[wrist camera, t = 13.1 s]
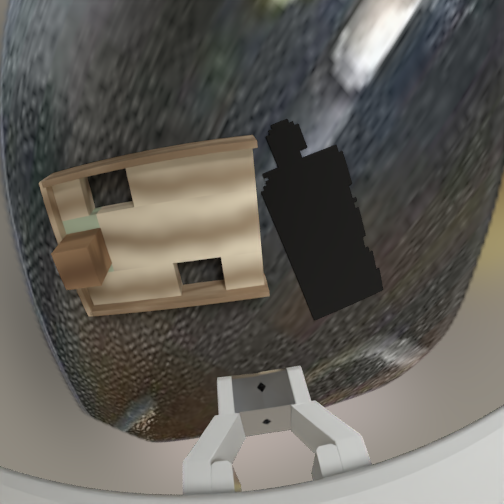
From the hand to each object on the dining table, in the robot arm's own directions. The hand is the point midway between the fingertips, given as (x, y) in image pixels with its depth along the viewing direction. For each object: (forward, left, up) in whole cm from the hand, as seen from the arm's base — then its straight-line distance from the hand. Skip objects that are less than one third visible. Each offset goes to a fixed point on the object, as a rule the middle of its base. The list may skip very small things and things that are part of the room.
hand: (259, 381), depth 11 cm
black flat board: (+9, +12, -30) cm, 33 cm away
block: (+6, -18, -27) cm, 33 cm away
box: (+6, -9, -29) cm, 31 cm away
